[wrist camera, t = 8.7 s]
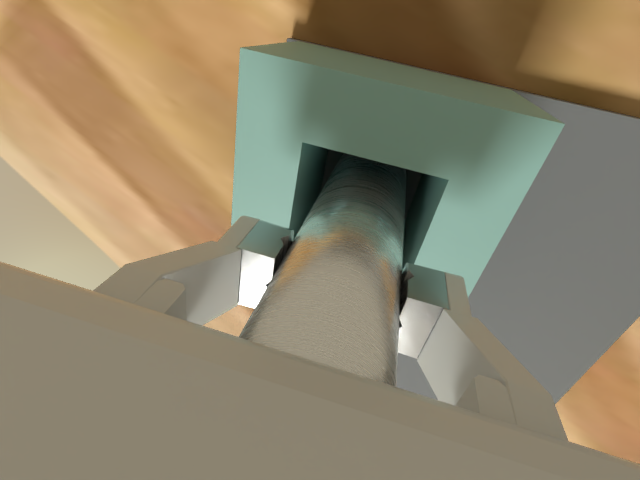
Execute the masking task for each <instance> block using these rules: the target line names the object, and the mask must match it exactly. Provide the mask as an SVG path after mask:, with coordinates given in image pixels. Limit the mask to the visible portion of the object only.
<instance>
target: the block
mask: <svg viewBox="0 0 640 480" xmlns="http://www.w3.org/2000/svg"><path fill="white" fill-rule="evenodd" d="M564 125H565V124H564V123H563V122H561V121H559V120H558V119H556V118H555V117H553V116H552V115H550V114H549V113H547V112H545V111H544V110H542V109H541V108H539V107H538V106H536V105H534V104H533V103H531V102H530V101H528V100H527V99H525V98H524V97H522V96H520V95H519V94H517V93H516V92H514V91H513V90H510V89H506V88H501V87H497V86H492V85H488V84H484V83H479V82H475V81H471V80H466V79H462V78H458V77H453V76H449V75H445V74H440V73H436V72H431V71H427V70H423V69H418V68H414V67H410V66H405V65H401V64H397V63H392V62H388V61H384V60H379V59H375V58H370V57H366V56H362V55H357V54H353V53H349V52H344V51H340V50H336V49H331V48H327V47H323V46H318V45H314V44H309V43H305V42H301V41H294V42H285V43H277V44H268V45H259V46H251V47H242V48H240V62H239V82H238V102H237V122H236V142H235V162H234V182H233V202H232V222H231V226H232V225H233V224H234V223H235V222H236V221H237V220H238V219H239V218H240V217H241V216H244V215H245V216H249V217H253V218H256V219H260V220H263V221H266V222H269V223H273V224H276V225H279V226H283V227H286V228H289V229H293V230H294V238H293V240H294V239H295V237H296V235H297V233H298V232H299V230H300V228H301V226H302V225H303V223H304V221H305V219H306V217H307V216H308V214H309V212H310V210H311V209H312V207H313V205H314V203H315V202H316V200H317V198H318V196H319V194H320V191H321V186H322V181H323V176H324V171H325V166H326V161H327V156H328V151H329V149H331V150H335V151H339V152H342V153H346V154H350V155H354V156H358V157H362V158H366V159H370V160H373V161H377V162H381V163H385V164H389V165H393V166H397V167H401V168H405V169H408V170H412V171H416V172H420V173H422V175H421V178H420V181H419V183H418V186H417V189H416V192H415V194H414V197H413V200H412V202H411V205H410V208H409V211H408V213H407V216H406V219H404V238H403V258H402V271H403V268H404V266H405V264H406V262H407V263H411V264H415V265H419V266H423V267H427V268H431V269H435V270H439V271H442V272H447V273H451V274H455V275H459V276H462V277H463V278H464V282H465V286H466V291H467V296H468V297H469V295H470V293H471V292H472V290H473V288H474V286H475V284H476V283H477V281H478V279H479V277H480V276H481V274H482V272H483V270H484V268H485V267H486V265H487V263H488V261H489V259H490V258H491V256H492V254H493V252H494V251H495V249H496V247H497V245H498V243H499V242H500V240H501V238H502V236H503V234H504V233H505V231H506V229H507V227H508V226H509V224H510V222H511V220H512V218H513V217H514V215H515V213H516V211H517V209H518V208H519V206H520V204H521V202H522V201H523V199H524V197H525V195H526V193H527V192H528V190H529V188H530V186H531V184H532V183H533V181H534V179H535V177H536V175H537V174H538V172H539V170H540V168H541V167H542V165H543V163H544V161H545V159H546V158H547V156H548V154H549V152H550V150H551V149H552V147H553V145H554V143H555V142H556V140H557V138H558V136H559V134H560V133H561V131H562V129H563V127H564Z"/></svg>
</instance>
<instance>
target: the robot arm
mask: <svg viewBox="0 0 640 480" xmlns="http://www.w3.org/2000/svg"><path fill="white" fill-rule="evenodd" d="M293 238H294V230H293V229H289V228H286V227H283V226H279V225H276V224H273V223H269V222H266V221H263V220H260V219H256V218H253V217H249V216H245V215H244V216H241V217H240V218H239V219H238V220H237V221H236V222H235V223H234V224H233V225H232V226H231V228H230V229H229V230H228V231H227V232H226V233H225V234H224V235H223V236H222V237H221V238H220V239H219V241H218V242H214V241H210V242H206V243H202V244H199V245H195V246H191V247H188V248H184V249H180V250H177V251H173V252H170V253H166V254H162V255H159V256H155V257H151V258H148V259H144V260H140V261H137V262H133V263H129V264H126V265H124V266H123V267H122V268H121V269H119V270H118V271H117V272H116V273H114V274H113V275H112V276H111V277H109V278H108V279H107V280H106V281H105V282H103V283H102V284H101V285H100V286H98V287H97V288H96V289H95V290H93V291H91V290H88V289H85V288H81V287H78V286H76V285H72V284H69V283H66V282H63V281H60V280H57V279H53V278H50V277H47V276H44V275H41V274H37V273H35V272H31V271H28V270H25V269H22V268H19V267H16V266H12V265H9V264H6V263H3V262H0V480H640V464H638V463H635V462H632V461H629V460H626V459H622V458H619V457H616V456H613V455H610V454H607V453H603V452H600V451H597V450H594V449H591V448H588V447H585V446H581V445H578V444H575V443H572V442H569V441H568V439H567V436H566V433H565V431H564V428H563V425H562V423H561V420H560V417H559V415H558V412H557V409H556V407H555V404H554V401H553V398H552V396H551V395H550V394H549V393H548V391H547V390H546V389H545V388H544V387H543V386H542V385H541V384H540V383H539V382H538V381H537V380H536V379H535V378H534V377H533V376H532V375H531V374H530V373H529V372H528V371H527V370H526V368H525V367H524V366H523V365H522V364H521V363H520V362H519V361H518V360H517V359H516V358H515V357H514V356H513V355H512V354H511V353H510V352H509V351H508V350H507V349H506V348H505V347H504V346H503V344H502V343H501V342H500V341H499V340H498V339H497V338H496V337H495V336H494V335H493V334H492V333H491V332H490V331H489V330H488V329H487V328H486V327H485V326H484V325H483V324H482V323H481V321H480V320H479V319H478V318H475V317H472V315H471V310H470V305H469V301H468V296H467V291H466V286H465V282H464V278H463V277H462V276H459V275H455V274H451V273H447V272H442V271H439V270H435V269H431V268H427V267H423V266H419V265H415V264H411V263H407V262H406V264H405V266H404V268H403V271H402V278H401V297H400V317H399V337H398V353H401V354H404V355H407V356H410V357H413V358H416V359H417V361H418V363H419V365H420V367H421V369H422V371H423V373H424V375H425V376H426V378H427V380H428V382H429V384H430V386H431V388H432V389H433V391H434V393H435V395H436V397H437V399H438V400H436V399H433V398H429V397H426V396H423V395H420V394H417V393H414V392H411V391H407V390H404V389H401V388H398V387H395V386H392V385H389V384H385V383H382V382H379V381H376V380H373V379H370V378H366V377H363V376H360V375H357V374H354V373H351V372H347V371H344V370H341V369H338V368H335V367H332V366H328V365H325V364H322V363H319V362H316V361H312V360H309V359H306V358H303V357H300V356H297V355H293V354H290V353H287V352H284V351H281V350H278V349H274V348H271V347H268V346H265V345H262V344H259V343H255V342H252V341H249V340H246V339H243V338H240V337H236V336H233V335H230V334H227V333H224V332H221V331H218V330H214V329H211V328H208V327H205V326H202V325H204V324H206V323H208V322H209V321H211V320H213V319H215V318H216V317H218V316H220V315H222V314H223V313H225V312H227V311H229V310H230V309H232V308H234V307H236V306H237V304H240V305H244V306H247V307H251V308H255V307H256V306H257V304H258V302H259V300H260V299H261V297H262V295H263V293H264V292H265V290H266V288H267V286H268V285H269V283H270V281H271V279H272V277H273V276H274V274H275V272H276V270H277V269H278V267H279V265H280V263H281V262H282V260H283V258H284V256H285V255H286V253H287V251H288V249H289V247H290V246H291V244H292V242H293Z"/></svg>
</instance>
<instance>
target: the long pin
mask: <svg viewBox="0 0 640 480" xmlns="http://www.w3.org/2000/svg"><path fill="white" fill-rule="evenodd" d="M406 178H407V177H406V169H405V168H401V167H397V166H393V165H389V164H385V163H381V162H377V161H373V160H370V159H366V158H362V157H358V156H354V155H350V154H346V153H344V154H343V155H342V156H341V158H340V159H339V161H338V163H337V164H336V166H335V168H334V170H333V172H332V173H331V175H330V177H329V179H328V180H327V182H326V184H325V186H324V187H323V189H322V191H321V193H320V194H319V196H318V198H317V200H316V202H315V203H314V205H313V207H312V209H311V210H310V212H309V214H308V216H307V217H306V219H305V221H304V223H303V225H302V226H301V228H300V230H299V232H298V233H297V235H296V237H295V239H294V240H293V242H292V244H291V246H290V247H289V249H288V251H287V253H286V255H285V256H284V258H283V260H282V262H281V263H280V265H279V267H278V269H277V270H276V272H275V274H274V276H273V277H272V279H271V281H270V283H269V285H268V286H267V288H266V290H265V292H264V293H263V295H262V297H261V299H260V300H259V302H258V304H257V306H256V307H255V309H254V311H253V313H252V315H251V316H250V318H249V320H248V322H247V323H246V325H245V327H244V329H243V330H242V332H241V334H240V336H239V337H240V338H243V339H246V340H249V341H252V342H255V343H259V344H262V345H265V346H268V347H271V348H274V349H278V350H281V351H284V352H287V353H290V354H293V355H297V356H300V357H303V358H306V359H309V360H312V361H316V362H319V363H322V364H325V365H328V366H332V367H335V368H338V369H341V370H344V371H347V372H351V373H354V374H357V375H360V376H363V377H366V378H370V379H373V380H376V381H379V382H382V383H385V384H389V385H392V386H395V387H396V377H397V357H398V337H399V317H400V297H401V278H402V258H403V238H404V218H405V198H406Z"/></svg>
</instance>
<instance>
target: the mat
mask: <svg viewBox="0 0 640 480" xmlns="http://www.w3.org/2000/svg"><path fill="white" fill-rule="evenodd" d="M294 41H301V42H305V43H309V44H314V45H318V46H323V47H327V48H331V49H336V50H340V51H344V52H349V53H353V54H357V55H362V56H366V57H370V58H375V59H379V60H384V61H388V62H392V63H397V64H401V65H405V66H410V67H414V68H418V69H423V70H427V71H431V72H436V73H440V74H445V75H449V76H453V77H458V78H462V79H466V80H471V81H475V82H479V83H484V84H488V85H492V86H497V87H501V88H506V89H510V90H513V91H514V92H516V93H517V94H519V95H520V96H522V97H524V98H525V99H527V100H528V101H530V102H531V103H533V104H534V105H536V106H538V107H539V108H541V109H542V110H544V111H545V112H547V113H549V114H550V115H552V116H553V117H555V118H556V119H558V120H559V121H561V122H563V123H564V124H565V125H564V127H563V129H562V131H561V133H560V134H559V136H558V138H557V140H556V142H555V143H554V145H553V147H552V149H551V150H550V152H549V154H548V156H547V158H546V159H545V161H544V163H543V165H542V167H541V168H540V170H539V172H538V174H537V175H536V177H535V179H534V181H533V183H532V184H531V186H530V188H529V190H528V192H527V193H526V195H525V197H524V199H523V201H522V202H521V204H520V206H519V208H518V209H517V211H516V213H515V215H514V217H513V218H512V220H511V222H510V224H509V226H508V227H507V229H506V231H505V233H504V234H503V236H502V238H501V240H500V242H499V243H498V245H497V247H496V249H495V251H494V252H493V254H492V256H491V258H490V259H489V261H488V263H487V265H486V267H485V268H484V270H483V272H482V274H481V276H480V277H479V279H478V281H477V283H476V284H475V286H474V288H473V290H472V292H471V293H470V295H469V297H468V301H469V305H470V310H471V315H472V317H475V318H478V319H479V320H480V321H481V323H482V324H483V325H484V326H485V327H486V328H487V329H488V330H489V331H490V332H491V333H492V334H493V335H494V336H495V337H496V338H497V339H498V340H499V341H500V342H501V343H502V344H503V346H504V347H505V348H506V349H507V350H508V351H509V352H510V353H511V354H512V355H513V356H514V357H515V358H516V359H517V360H518V361H519V362H520V363H521V364H522V365H523V366H524V367H525V368H526V370H527V371H528V372H529V373H530V374H531V375H532V376H533V377H534V378H535V379H536V380H537V381H538V382H539V383H540V384H541V385H542V386H543V387H544V388H545V389H546V390H547V391H548V393H549V394H550V395H551V396H552V398H553V401H554V404H556V403H557V402H558V401H559V400H560V399H561V397H562V396H563V395H564V394H565V393H566V392H567V391H568V390H569V389H570V388H571V387H572V386H573V385H574V384H575V383H576V382H577V381H578V380H579V379H580V378H581V377H582V376H583V375H584V374H585V373H586V371H587V370H588V369H589V368H590V367H591V366H592V365H593V364H594V363H595V362H596V361H597V360H598V359H599V358H600V357H601V356H602V355H603V354H604V353H605V352H606V351H607V350H608V349H609V348H610V347H611V345H612V344H613V343H614V342H615V341H616V340H617V339H618V338H619V337H620V336H621V335H622V334H623V333H624V332H625V331H626V330H627V329H628V328H629V327H630V326H631V325H632V324H633V323H634V322H635V320H636V319H637V318H638V317H639V316H640V118H638V117H634V116H629V115H625V114H621V113H616V112H612V111H607V110H603V109H599V108H594V107H590V106H586V105H581V104H577V103H573V102H568V101H564V100H559V99H555V98H551V97H546V96H542V95H538V94H533V93H529V92H525V91H520V90H516V89H511V88H507V87H503V86H498V85H494V84H490V83H485V82H481V81H477V80H472V79H468V78H463V77H459V76H455V75H450V74H446V73H442V72H437V71H433V70H429V69H424V68H420V67H415V66H411V65H407V64H402V63H398V62H394V61H389V60H385V59H381V58H376V57H372V56H367V55H363V54H359V53H354V52H350V51H346V50H341V49H337V48H333V47H328V46H324V45H320V44H315V43H311V42H306V41H302V40H298V39H293V38H287V42H294ZM343 154H344V153H342V152H339V151H335V150H331V149H329V151H328V156H327V161H326V166H325V171H324V176H323V181H322V186H321V191H322V189H323V187H324V186H325V184H326V182H327V180H328V179H329V177H330V175H331V173H332V172H333V170H334V168H335V166H336V164H337V163H338V161H339V159H340V158H341V156H342V155H343ZM421 175H422V173H420V172H416V171H412V170H408V169H406V177H407V178H406V198H405V218H404V219H406V216H407V213H408V211H409V208H410V205H411V202H412V200H413V197H414V194H415V192H416V189H417V186H418V183H419V181H420V178H421ZM321 191H320V193H321ZM396 387H398V388H401V389H404V390H407V391H411V392H414V393H417V394H420V395H423V396H426V397H429V398H433V399H436V400H438V399H437V397H436V395H435V393H434V391H433V389H432V388H431V386H430V384H429V382H428V380H427V378H426V376H425V375H424V373H423V371H422V369H421V367H420V365H419V363H418V361H417V359H416V358H413V357H410V356H407V355H404V354H401V353H398V357H397V377H396Z"/></svg>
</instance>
